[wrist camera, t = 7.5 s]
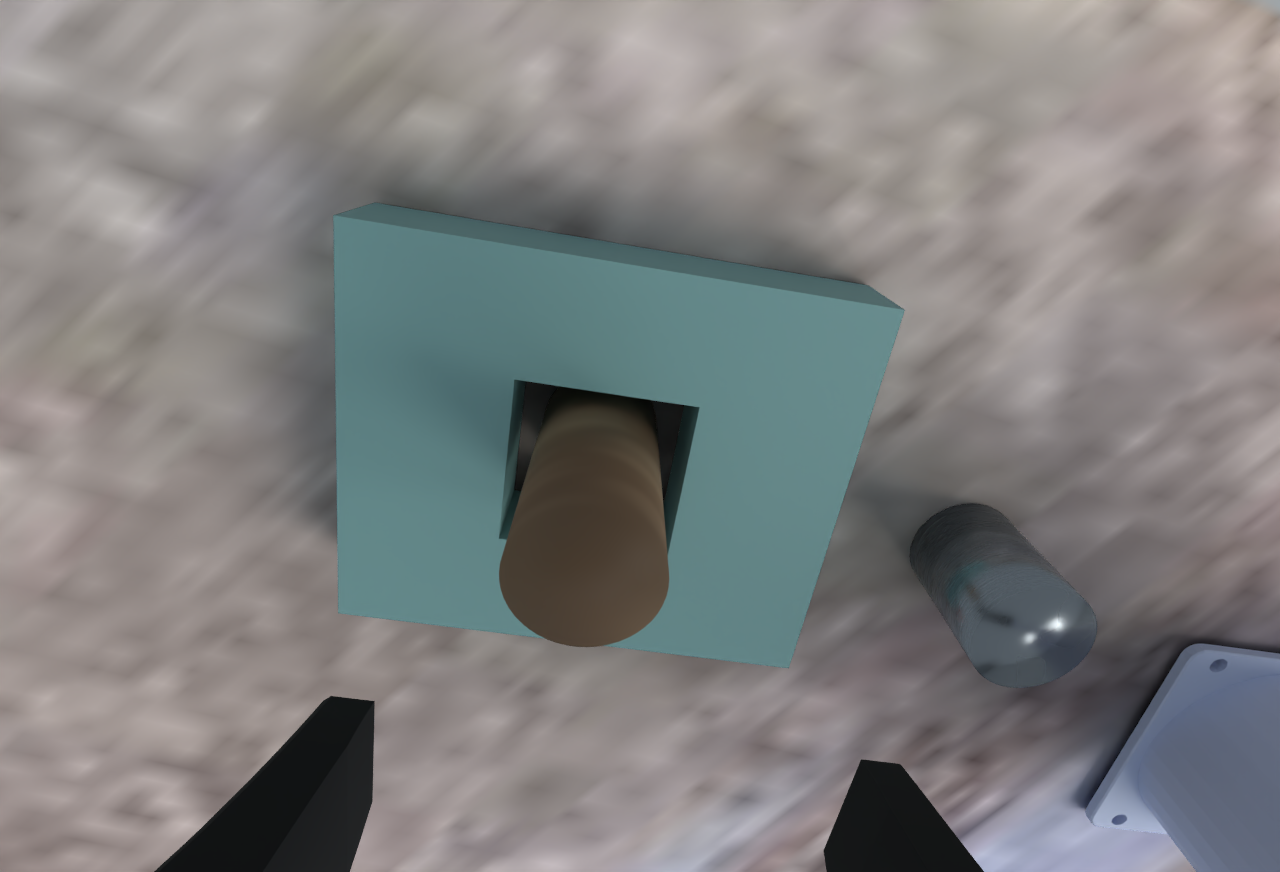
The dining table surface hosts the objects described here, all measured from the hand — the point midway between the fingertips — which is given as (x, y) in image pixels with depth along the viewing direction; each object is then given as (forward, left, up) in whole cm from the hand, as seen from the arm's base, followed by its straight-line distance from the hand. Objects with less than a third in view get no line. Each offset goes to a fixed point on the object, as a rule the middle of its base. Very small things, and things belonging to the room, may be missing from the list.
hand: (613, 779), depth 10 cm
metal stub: (-10, +1, -10) cm, 14 cm away
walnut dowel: (+1, -1, -10) cm, 10 cm away
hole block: (+1, -1, -10) cm, 10 cm away
